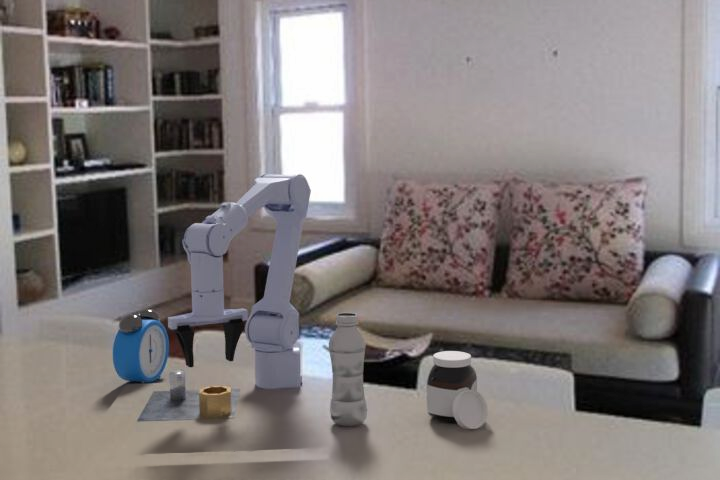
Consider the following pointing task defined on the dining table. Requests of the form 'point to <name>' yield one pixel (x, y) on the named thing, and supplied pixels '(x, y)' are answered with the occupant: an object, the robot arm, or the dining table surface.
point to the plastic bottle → (347, 372)
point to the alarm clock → (141, 347)
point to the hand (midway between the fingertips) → (209, 363)
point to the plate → (179, 402)
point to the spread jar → (455, 391)
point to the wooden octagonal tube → (215, 401)
